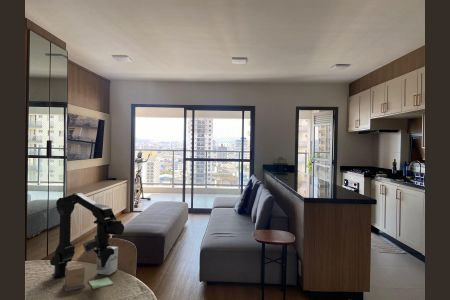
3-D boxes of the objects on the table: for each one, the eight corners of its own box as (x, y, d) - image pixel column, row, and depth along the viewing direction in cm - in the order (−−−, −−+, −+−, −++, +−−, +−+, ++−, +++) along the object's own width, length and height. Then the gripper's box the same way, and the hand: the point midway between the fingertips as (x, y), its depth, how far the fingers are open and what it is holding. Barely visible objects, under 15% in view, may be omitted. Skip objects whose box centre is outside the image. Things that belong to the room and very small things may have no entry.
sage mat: (88, 282, 142) (88, 281, 142) (107, 278, 148) (107, 277, 148) (93, 288, 135) (93, 287, 135) (113, 284, 141) (113, 283, 141)
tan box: (63, 286, 138) (64, 266, 138) (82, 282, 142) (82, 263, 143) (65, 291, 132) (66, 270, 133) (85, 287, 137) (86, 267, 137)
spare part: (95, 268, 142) (95, 257, 143) (105, 266, 145) (105, 256, 145) (97, 270, 139) (98, 260, 139) (107, 269, 141) (108, 258, 142)
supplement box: (109, 275, 152) (110, 250, 153) (97, 273, 154) (98, 249, 155) (117, 270, 160) (118, 246, 160) (105, 269, 161) (106, 245, 162)
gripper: (80, 231, 145) (79, 263, 145) (89, 239, 131) (87, 275, 130) (104, 229, 152) (102, 259, 151) (115, 236, 137) (113, 270, 136)
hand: (101, 266), depth 142 cm, fingers closed on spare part, 4 cm apart
